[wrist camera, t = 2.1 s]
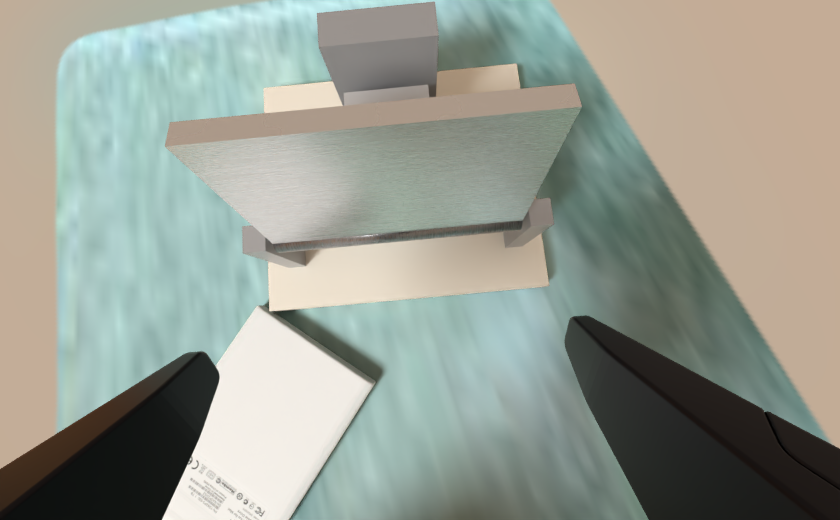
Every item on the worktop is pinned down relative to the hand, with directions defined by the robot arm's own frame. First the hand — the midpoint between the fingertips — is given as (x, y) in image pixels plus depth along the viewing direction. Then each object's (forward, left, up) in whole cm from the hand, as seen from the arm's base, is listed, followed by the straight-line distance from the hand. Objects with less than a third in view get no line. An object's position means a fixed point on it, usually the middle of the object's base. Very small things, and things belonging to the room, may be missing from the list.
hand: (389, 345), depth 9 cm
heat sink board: (+9, 0, -12) cm, 15 cm away
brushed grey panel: (+5, 0, -7) cm, 8 cm away
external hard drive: (-5, +9, -13) cm, 17 cm away
